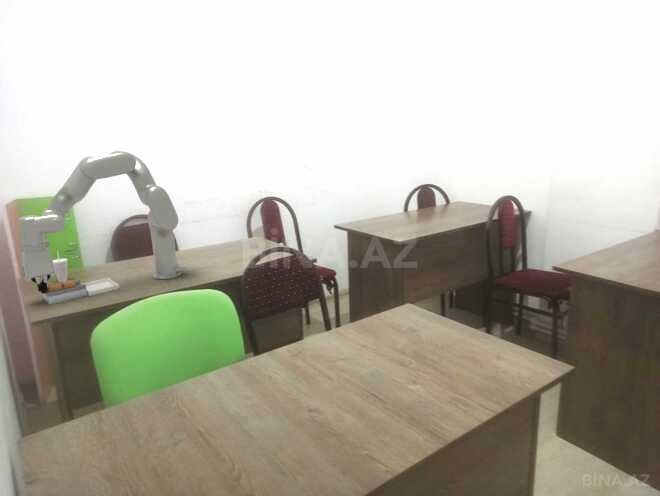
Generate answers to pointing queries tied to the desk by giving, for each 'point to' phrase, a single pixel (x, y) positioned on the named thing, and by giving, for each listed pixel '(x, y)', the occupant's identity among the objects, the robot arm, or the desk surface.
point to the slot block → (65, 293)
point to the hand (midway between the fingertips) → (43, 292)
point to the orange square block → (68, 284)
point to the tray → (101, 286)
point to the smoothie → (61, 269)
